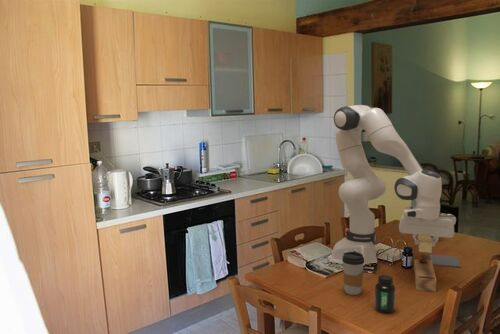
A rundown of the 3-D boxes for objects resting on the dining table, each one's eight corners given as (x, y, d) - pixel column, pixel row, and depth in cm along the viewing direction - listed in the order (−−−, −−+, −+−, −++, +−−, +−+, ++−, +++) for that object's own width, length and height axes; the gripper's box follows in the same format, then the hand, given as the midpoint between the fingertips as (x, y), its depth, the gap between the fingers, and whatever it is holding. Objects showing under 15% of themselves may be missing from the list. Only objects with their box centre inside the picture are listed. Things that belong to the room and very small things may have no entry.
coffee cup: (347, 285, 171) (348, 249, 168) (367, 290, 166) (368, 254, 163) (338, 292, 164) (338, 256, 162) (358, 298, 159) (358, 260, 157)
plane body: (416, 289, 165) (417, 270, 164) (413, 270, 184) (414, 252, 183) (435, 292, 163) (436, 272, 162) (431, 271, 182) (432, 254, 180)
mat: (431, 265, 189) (431, 263, 189) (428, 255, 200) (428, 254, 200) (460, 267, 185) (460, 266, 185) (456, 257, 196) (456, 256, 196)
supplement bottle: (386, 315, 146) (387, 283, 144) (370, 308, 152) (371, 276, 150) (398, 309, 150) (399, 277, 148) (382, 302, 156) (383, 271, 154)
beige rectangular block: (419, 251, 165) (419, 241, 165) (417, 243, 174) (418, 234, 173) (431, 252, 164) (432, 243, 163) (429, 244, 172) (430, 235, 172)
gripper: (455, 212, 166) (452, 245, 168) (400, 207, 172) (397, 239, 175) (457, 216, 160) (454, 251, 163) (400, 211, 166) (398, 245, 169)
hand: (424, 245), depth 169 cm, fingers closed on beige rectangular block, 4 cm apart
